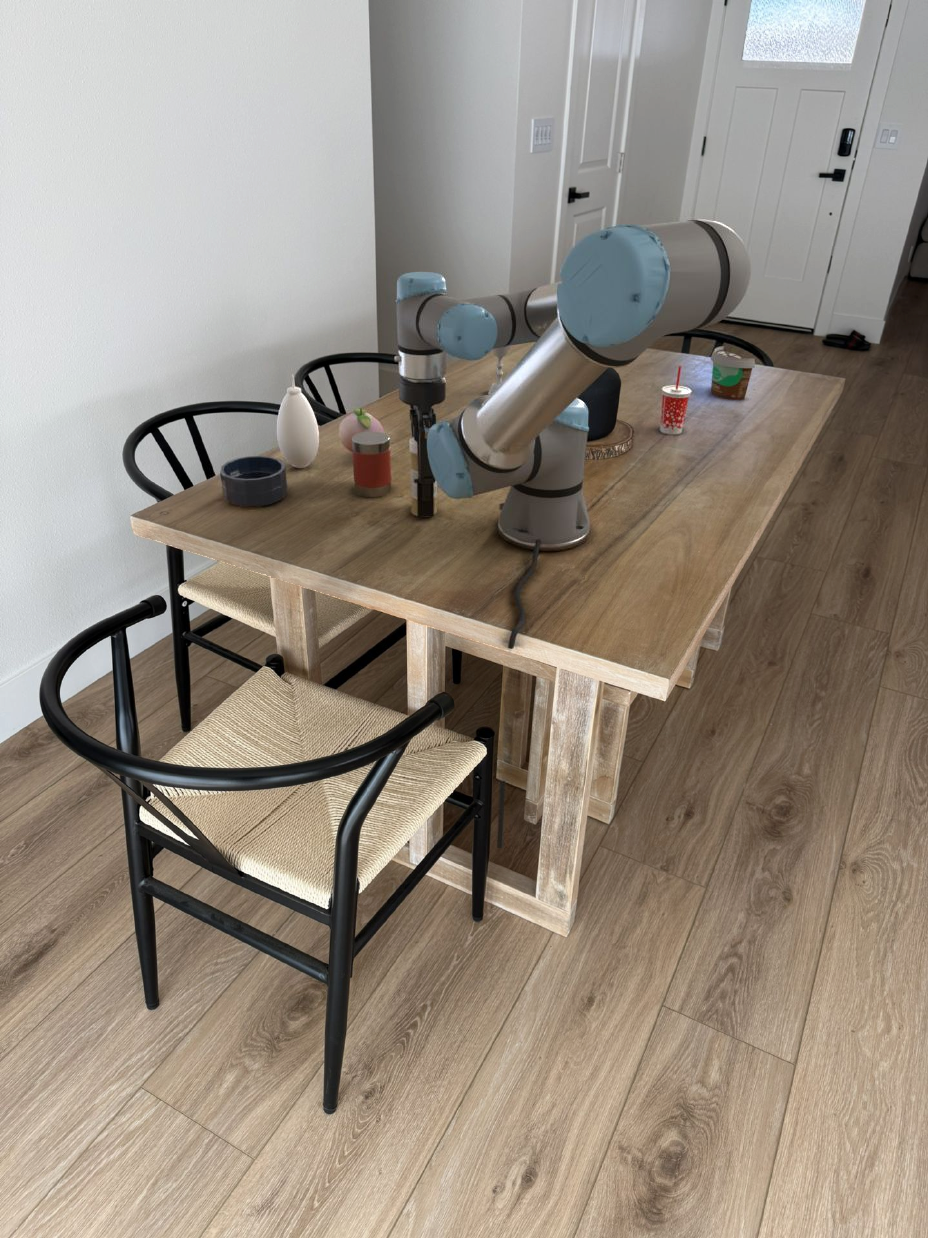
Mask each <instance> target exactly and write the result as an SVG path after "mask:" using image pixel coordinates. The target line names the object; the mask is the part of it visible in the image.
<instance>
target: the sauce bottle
mask: <svg viewBox="0 0 928 1238" xmlns="http://www.w3.org/2000/svg"><path fill="white" fill-rule="evenodd" d="M276 439H277V445H278V449H279V450H280V453H281V456H282V457H283V458H284V461H286V462H287V463H288V464H290V465H291V466H292V467H294V468H297V469H305V468H306V467H309V466H310V464H311V463H312V462H313V461H315V459H316V457H317V454H318V450H319V446H320V445H319V444H320V432H319V425H318V422H317V417H316V415H315V413H314V410H313V407H312V406H311V404H310V402H309V400H308V399H307V397H306V396H305V394H303V393H302V388H301V387H299V386H296V384H295V377H294V374H293V373H292V374H291V386H290V387H288V388H286V394H285V395H284V397H283V399H282V401H281V403H280V407H279V410H278V415H277V419H276Z"/></svg>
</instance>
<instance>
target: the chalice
mask: <svg viewBox="0 0 928 1238" xmlns="http://www.w3.org/2000/svg"><path fill="white" fill-rule="evenodd" d="M511 347H512V345H510V346H505V347H501V348H495V349H492V350H491V351H492V354H493V355H494V357H497V362H496V369H497V370H496V372H495V375H496V380H495V382H493V383H492V384H491V386H490V388H489V391H488V393H487V395H491V394H492V393H493V392H494V391H495V390H496V389H497V387H498V386H499V385H500V384H501V383H502V382H503V379H502V376H503V375H504V372H503V370H502V369H503V367H504V364H503V358H505V357H507V355H508V353H509V351H510V349H511Z"/></svg>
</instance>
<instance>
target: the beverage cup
mask: <svg viewBox="0 0 928 1238" xmlns="http://www.w3.org/2000/svg"><path fill="white" fill-rule="evenodd" d="M681 371H682V365H678V370H677V377H676V384H674V385H665V386H663V387H662V388H661V394H662V400H661V413H660V414H661V415H660V429H659V432H661V433H662V434H665V435H680V434H681V433H682V432H683V427H684V423H685V418H686V413H687V408H688V404H689V399H690V396H691V394H692V390H691V389H690V388H689V387H686V386H683V385H682V386H681V385H680V377H681Z"/></svg>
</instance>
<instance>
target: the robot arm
mask: <svg viewBox="0 0 928 1238" xmlns="http://www.w3.org/2000/svg"><path fill="white" fill-rule="evenodd" d="M751 268H752V267H751V259H750V255H749V251H748V249H747V246H746V244H745V243H744V241H743V239H742V237H740V236H739V235H738V234H737V233H736V232H735V231H734V230H733V229H732V228H731V227H729V226H727V225H726V224H724V223H722V222H718V221H716V220H709V219H705V218H699V219H697V218H696V219H689V220H679V221H672V222H671V221H670V222H661V223H651V224H640V225H636V224H630V223H629V224H617V225H614V226H610V227H606V228H604V229H599V230H595V231H593V232H591V233H589V234H587V235H585V236H583V237H582V238H581V239H580V240H578V241H577V242H576V243H575V244H574V245H573V247H572V248H571V249H570V250H569V252H568V253H567V255H566V257H565V258H564V260H563V263H562V265H561V267H560V269H559V274H558V276H559V278H561V280H560V281H555V282H552V283H549V284H545V285H542V286H538V287H533V288H530V289H527V290H522V291H516V292H510V293H504V294H494V295H485V296H479V297H478V296H477V297H471V298H464V299H463V298H462V299H460V298H455V297H452V296H449V295H447V293H448V289H447V283H446V279H445V277H444V276H443V275H442V274H441V273H437V272H432V271H431V272H430V271H412V272H405V273H403V274H401V275H400V276H399V277H398V279H397V281H396V299H395V304H396V305H395V306H396V307H395V308H396V327H397V329H396V330H397V331H396V332H397V344H398V345H397V347H398V349H397V351H398V354H399V355H395V356H394V362H395V363H398V374H399V375H400V377H399V378H398V397H399V400H400V402H402V403H403V404H405V405H408V406H409V410H408V411H409V420H410V431H411V438H412V437H414V440H415V441H416V442H417V457H418V479H414V483H417V511H418V516H417V517H418V518H429V516H430V517H434V516H435V514H434V483H435V480H436V483H437V485H438V487H439V488H440V490H441V491H442V492H443V493H444V494H445V495H446V496H447V497H449V498H451V499H453V500H461V499H467V498H468V499H472V498H473V497H475V496H478V495H479V496H480V495H482V494H486V493H490V492H494V491H497V490H502V489H505V488H509V490H508V493H507V496H506V498H505V500H504V502H502V503H499V504H498V505H499V507H498V508H499V509H498V510H499V511H500V513H499V516H498V521H497V531H498V534H499V535H500V537H501V538H502V539H503V540H505V541H506V542H507V543H509V544H512V545H514V546H516V547H518V548H522V549H526V550H530V551H533V553H532V558H531V563H530V566H529V568H528V570H527V571H526V573H525V574H524V575H523V576H522V577H521V578H520V580H519V581H518V582H517V584H516V586H515V588H514V601H515V605H516V607H517V610H518V614H519V618H518V619H519V620H518V622H517V624H516V625H515V626H514V628H513V629H512V630H511V633H510V636H509V639H508V645H507V648H508V650H513V649H514V647H515V644H516V639H517V636H518V633H519V632H520V630H521V629H522V628H523V627H524V625H525V621H526V612H525V607H524V606H523V603H522V600H521V596H520V595H521V590H522V587H523V586H524V584H525V583H526V582H527V580H528V579H529V578H531V576H532V575H533V573H534V572H535V569H536V568H537V567H536V566H537V563H538V557H539V553H540V552H559V551H567V550H570V549H573V548H576V547H578V546H580V545H582V544H584V543H585V542H586V541H587V540H588V539H589V536H590V529H591V524H590V523H591V522H590V516H589V513H588V507H587V505H586V501H585V495H584V493H583V485H584V484H583V483H584V474H585V463H586V453H587V444H588V434H589V431H590V427H589V408H588V406H587V405H586V403H585V402H584V401H583V400H581V399H579V396H581V395H582V394H583V393H584V392H585V391H586V390H587V389H588V388H589V387H590V386H591V385H592V384H593V383H594V382H595V381H596V380H597V379H598V378H599V377H600V376H601V375H602V374H604V373H605V371H607V370H608V369H609V368H611V369H617V368H618V369H619V368H623V367H627V366H628V365H631V364H632V363H633V362H634V361H636V360H637V358H639V356H641V355H642V354H643V353H644V352H645V351H647V349H649V347H650V346H652V345H653V344H654V343H655V342H656V341H657V340H659V339H660V338H662V337H664V336H667V335H671V334H679V333H682V332H683V333H684V332H688V331H693V330H699V329H704V328H707V327H710V326H713V325H715V324H718V323H719V322H721V321H722V320H724V319H726V318H727V317H728V316H729V315H730V314H732V313H733V312H734V311H735V310H736V309H737V308H738V306H739V305H740V304H741V302H742V300H743V299H744V297H745V295H746V293H747V290H748V288H749V284H750V280H751V271H752V270H751ZM530 343H531V344H532V343H534V344H533V345H532V346H531V347H530V349H528V351H527V352H526V353H525V355H523V357H522V358H521V359H520V360H519V361H518V362H517V364H516V365H515V366H514V367H513V368H512V369H511V371H510V372H509V373H508V374H507V376H506V377H504V378H503V379H502V383H501V384H500V385H499V386H498V387H497V389H496V390H495V391H494V392H493V393H492V394H491V395H489V394H485V395H481V396H479V397H478V396H477V398H476V397H475V399H473V400H471V402H470V403H469V404H468V405H466V406H465V408H464V409H463V411H462V412H461V413H460V414H459V416H457V417H455V418H453V419H450V420H449V419H448V420H446V419H444V420H443V419H442V420H441V421H439V422H437V414H436V413H435V410H434V406H435V405H439V404H442V403H443V402H444V401H445V400H446V395H447V394H446V392H447V391H446V388H447V387H446V384H447V383H446V378H445V376H446V373H447V355H449V356H452V357H455V358H457V359H460V360H466V361H478V360H481V359H482V358H484V357H485V356H486V355H488V354H489V353H490V352H491V351H492V349H495V348H501V347H505V346H510V345H511V346H516V345H524V344H530ZM498 791H499V792H498V797H499V798H498V814H497V839H496V848H497V849H502V848H503V838H504V837H503V835H504V834H503V833H504V818H505V817H504V814H505V813H504V812H505V793H506V780H499V790H498Z"/></svg>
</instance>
